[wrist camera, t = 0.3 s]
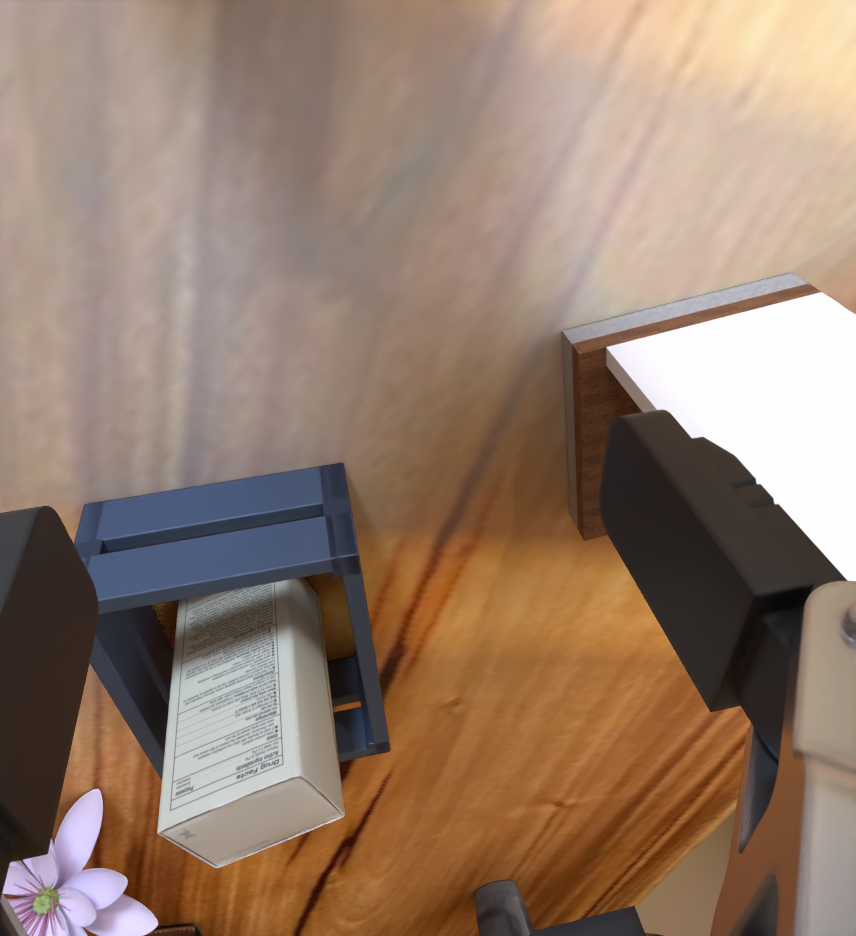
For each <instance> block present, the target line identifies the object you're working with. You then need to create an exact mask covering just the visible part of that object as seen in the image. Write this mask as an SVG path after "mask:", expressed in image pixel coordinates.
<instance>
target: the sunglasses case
mask: <svg viewBox="0 0 856 936" xmlns="http://www.w3.org/2000/svg"><path fill="white" fill-rule="evenodd" d="M144 936H202V935H201V934H200V932H199V931H198V929H197V928H196V927H195V926H193V925H186V926H168V927H158V928H155V929H154V930H153V931H151V932H150V933H148V934H146V935H144Z"/></svg>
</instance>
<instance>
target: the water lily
mask: <svg viewBox="0 0 856 936" xmlns="http://www.w3.org/2000/svg"><path fill="white" fill-rule="evenodd" d="M102 816H103V800H102V795H101V792H100V790H99V789H94V790H91V791H90V792H88V793H86V794H85V795H83V796H82V797H81V798H80V799H79V800H78V801H77V802H76V803H75V804H74V805H73V806H72V807H71V809H70V810H69V811H68V813H67V814H66V816H65V818H64V819H63V821H62V823H61V826H60V828H59V830H58V833H57V835H56V838H55V842H54V844H53V841H52V838H51V842H50V846H49V851H48V854H47V855H42V856H38V857H33V858H28V859H24V860H23V861H24V862H25V864H26V865H27V867H28V868H29V869H30V871H31V872H32V873H33V874H32V873H31V872H30V871H29V870H28V869H27V868H26V867H25V866H24V865H23V864H22V863H21V862H20V861H15V862H10V865H9V869H8V873H7V877H6V880H5V884H4V888H3V892H2V893H3V894H12V895H17V896H21V897H26V898H20V899H7V900H8V901H9V903H10V905H11V906H12V908H13V910H14V911H15V913H16V915H17V917H18V918H19V920H20V922H21V923H22V922H23V921H24V920H26V919H27V918H28V917H29V916H30V915H31V914H32V915H31V916H30V917H29V918H28V919H27V920H26V922H25V923H24V924H23V927H24V929H25V930H26V932H27V934H28V935H29V936H87V934H86V932H85V931H84V929H83V928H82V927H84V928H85V929H87V930H89V931H90V932H92V933H94V934H96V935H99V936H144V935H146V934H148V933H150V932H151V931H153V930H154V929H155V928H156V927H157V926H158V921H157V919H156V917H155V916H154V915H153V913H152V912H151V911H150V910H149V909H147V908H146V907H145V906H144V905H143V904H141V903H140V902H138V901H136V900H135V899H133V898H131V897H129V896H126V895H124V894H122V893H123V892H124V890H125V888H126V886H127V884H128V880H127V878H126V877H125V876H123V875H122V874H121V873H118V872H116V871H114V870H111V869H105V868H93V869H88V870H84V871H81V870H82V869H83V868H84V866H85V865H86V864H87V862H88V861H89V858H90V856H91V853H92V851H93V849H94V846H95V843H96V841H97V838H98V834H99V831H100V827H101V822H102Z"/></svg>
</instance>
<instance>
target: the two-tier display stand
mask: <svg viewBox="0 0 856 936" xmlns="http://www.w3.org/2000/svg"><path fill="white" fill-rule="evenodd" d="M562 338H563V361H564V385H565V408H566V431H567V455H568V478H569V501H570V515H571V517H572V519H573V521H574V523H575V525H576V527H577V529H578V530H579V532H580V534H581V536H582V538H583V540H584V541H586V540H589V539H593V538H597V537H601V536H604V535H608V534H607V532H606V530H605V527H604V525H603V522H602V518H601V513H600V507H599V492H600V485H601V478H602V471H603V464H604V457H605V450H606V443H607V436H608V430H609V426H610V423H611V421H612V419H613V418H615V417H618V416H624V415H630V414H636V413H643V412H649V411H655V410H667V411H668V412H670V413H671V414H672V415H673V417H674V418H675V419H676V420H677V421H678V423H679V424H680V425H681V426H682V427H683V428H684V430H685V431H686V432H687V433H688V434H689V435H690V437H691V438H698V437H705V438H706V439H708V440H710V441H711V442H713V443H715V444H716V445H718V446H720V447H722V448H723V449H725V450H727V451H728V452H730V453H732V454H733V455H735V456H736V457H737V458H738V459H739V461H740V462H741V463H742V464H743V465H744V466H745V467H746V468H747V469H748V471H749V472H750V473H751V474H752V475H753V476H754V477H755V478H756V483H757V484H761V485H762V486H763V487H764V488H765V489H766V491H767V492H768V493H769V494H770V495H771V496H772V497H773V498H774V503H775V504H779V505H780V506H781V507H782V508H783V509H784V511H785V512H786V513H787V514H788V515H789V516H790V517H791V518H792V519H793V520H794V522H795V523H796V524H797V525H798V526H799V527H800V528H801V529H802V530H803V532H804V533H805V534H806V535H807V536H808V537H809V538H810V539H811V540H812V542H813V543H814V544H815V545H816V546H817V547H818V548H819V549H820V550H821V552H822V553H823V554H824V555H825V556H826V557H827V558H828V559H829V560H830V562H831V563H832V564H833V565H834V566H835V567H836V568H837V569H838V570H839V572H840V573H841V574H842V575H843V576H844V577H845V578H846V579H847V580H848V581H856V315H855V314H853V313H852V312H850V311H849V310H847V309H846V308H844V307H843V306H841V305H840V304H839V303H837V302H836V301H834V300H833V299H831V298H830V297H828V296H827V295H825V294H824V293H822V292H821V291H819V290H818V289H816V288H815V287H813V286H812V285H810V284H809V283H807V282H806V281H804V280H803V279H801V278H800V277H798V276H797V275H796V274H794V273H793V272H792V273H788V274H784V275H780V276H776V277H773V278H769V279H765V280H761V281H757V282H753V283H749V284H745V285H741V286H737V287H733V288H729V289H725V290H721V291H717V292H713V293H709V294H706V295H702V296H698V297H694V298H690V299H686V300H682V301H678V302H674V303H670V304H666V305H662V306H658V307H654V308H650V309H646V310H642V311H639V312H635V313H631V314H627V315H623V316H619V317H615V318H611V319H607V320H603V321H599V322H595V323H591V324H587V325H583V326H579V327H575V328H571V329H568V330H564V331H562Z"/></svg>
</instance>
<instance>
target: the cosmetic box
mask: <svg viewBox="0 0 856 936" xmlns="http://www.w3.org/2000/svg"><path fill="white" fill-rule="evenodd" d="M344 816H345V811H344V802H343V793H342V786H341V778H340V768H339V760H338V752H337V743H336V734H335V726H334V717H333V709H332V701H331V691H330V683H329V675H328V666H327V658H326V649H325V641H324V632H323V623H322V613H321V604H320V598H319V597H318V596H317V594H316V593H315V591H314V590H313V589H312V587H311V586H310V584H309V583H308V582H307V580H306V579H305V578H304V577H302V578H296V579H291V580H285V581H280V582H274V583H269V584H263V585H258V586H252V587H247V588H241V589H236V590H230V591H225V592H219V593H213V594H208V595H202V596H197V597H191V598H186V599H180V600H179V602H178V612H177V623H176V635H175V646H174V658H173V668H172V679H171V689H170V700H169V711H168V722H167V731H166V743H165V754H164V766H163V777H162V787H161V798H160V807H159V818H158V828H157V834H158V835H160V836H162V837H164V838H166V839H167V840H169V841H170V842H172V843H174V844H175V845H177V846H179V847H180V848H182V849H184V850H185V851H187V852H188V853H190V854H192V855H193V856H195V857H197V858H198V859H201V860H202V861H204V862H206V863H207V864H209V865H211V866H213V867H215V868H220V867H222V866H225V865H227V864H229V863H232V862H235V861H237V860H240V859H242V858H244V857H247V856H250V855H252V854H255V853H257V852H259V851H262V850H264V849H267V848H269V847H272V846H274V845H277V844H279V843H281V842H284V841H286V840H289V839H292V838H293V837H296V836H299V835H301V834H304V833H306V832H309V831H311V830H313V829H315V828H318V827H320V826H323V825H325V824H328V823H331V822H333V821H335V820H338V819H341V818H342V817H344Z"/></svg>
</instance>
